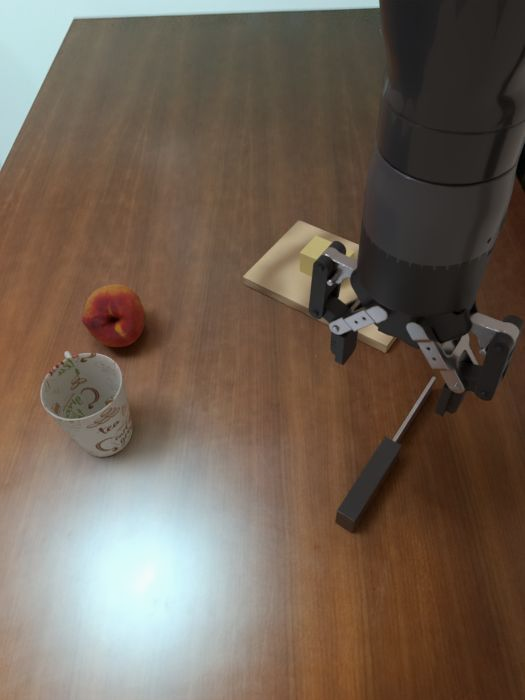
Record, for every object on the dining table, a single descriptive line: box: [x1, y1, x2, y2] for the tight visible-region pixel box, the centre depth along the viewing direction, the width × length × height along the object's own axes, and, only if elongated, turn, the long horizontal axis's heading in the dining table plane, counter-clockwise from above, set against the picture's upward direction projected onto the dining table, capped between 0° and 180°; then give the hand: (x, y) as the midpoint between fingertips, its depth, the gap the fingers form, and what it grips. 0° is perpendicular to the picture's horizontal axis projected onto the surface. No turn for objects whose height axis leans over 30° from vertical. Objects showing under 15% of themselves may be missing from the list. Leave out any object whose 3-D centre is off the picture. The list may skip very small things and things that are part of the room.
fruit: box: [81, 283, 146, 348], centre depth 73 cm, size 8×8×8 cm
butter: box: [300, 236, 354, 284], centre depth 78 cm, size 6×4×4 cm, turn 55°
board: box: [242, 219, 397, 354], centre depth 79 cm, size 22×14×2 cm, turn 55°
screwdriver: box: [334, 375, 437, 534], centre depth 62 cm, size 20×2×3 cm, turn 145°
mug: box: [39, 350, 134, 458], centre depth 64 cm, size 8×13×10 cm, turn 33°
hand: (392, 380), depth 45 cm, fingers open, 8 cm apart
